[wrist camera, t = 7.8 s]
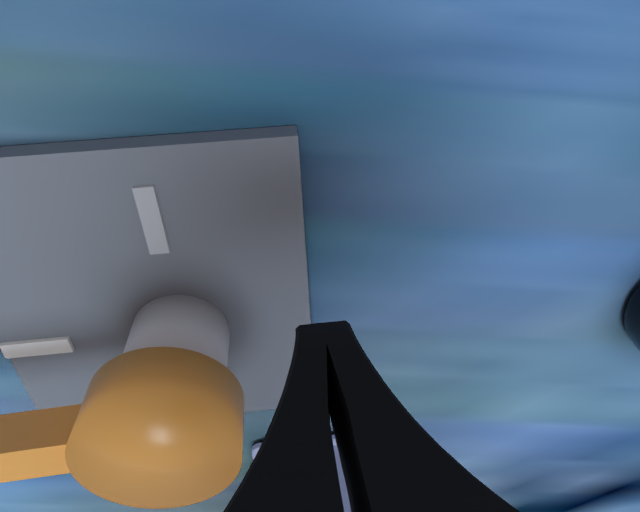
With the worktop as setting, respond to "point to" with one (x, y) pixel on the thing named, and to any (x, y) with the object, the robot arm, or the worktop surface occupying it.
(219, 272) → the plate
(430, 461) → the robot arm
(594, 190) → the worktop surface
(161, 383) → the crank handle
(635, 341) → the supplement bottle
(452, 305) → the worktop surface
